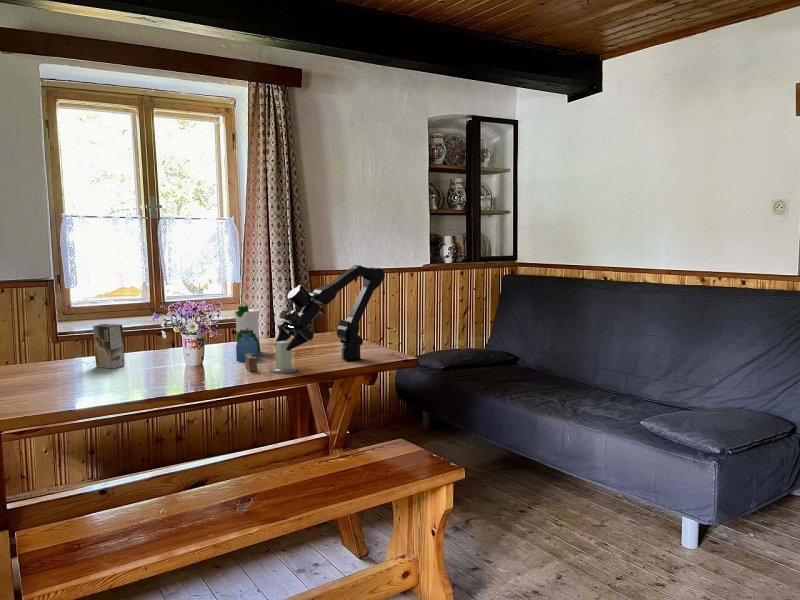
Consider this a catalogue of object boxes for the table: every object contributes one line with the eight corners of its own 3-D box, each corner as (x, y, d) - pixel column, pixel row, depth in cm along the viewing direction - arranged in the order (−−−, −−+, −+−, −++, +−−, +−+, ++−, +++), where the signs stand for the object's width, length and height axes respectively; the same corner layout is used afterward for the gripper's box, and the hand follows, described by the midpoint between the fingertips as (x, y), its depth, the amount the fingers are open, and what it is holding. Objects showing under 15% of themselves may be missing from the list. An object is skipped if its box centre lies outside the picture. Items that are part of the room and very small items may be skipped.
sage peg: (285, 366, 229) (285, 340, 228) (291, 368, 226) (290, 342, 225) (276, 368, 226) (275, 341, 225) (281, 370, 223) (280, 343, 222)
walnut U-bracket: (252, 366, 233) (252, 353, 232) (257, 371, 225) (256, 357, 224) (245, 367, 232) (245, 354, 231) (249, 371, 224) (249, 358, 223)
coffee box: (125, 365, 236) (123, 324, 234) (112, 369, 230) (109, 326, 228) (108, 363, 239) (106, 323, 238) (94, 367, 234) (92, 325, 232)
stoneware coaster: (293, 366, 233) (293, 364, 233) (300, 371, 224) (300, 370, 224) (267, 368, 229) (267, 367, 229) (273, 374, 220) (273, 372, 220)
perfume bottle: (251, 361, 242) (250, 331, 240) (236, 360, 243) (235, 331, 242) (257, 358, 248) (256, 329, 246) (243, 357, 249) (242, 328, 248)
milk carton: (233, 353, 258) (231, 306, 256) (249, 349, 265) (247, 303, 263) (248, 355, 253) (246, 307, 251) (263, 351, 261) (262, 305, 259)
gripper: (280, 299, 233) (255, 331, 228) (305, 304, 219) (278, 338, 213) (299, 318, 239) (274, 349, 234) (324, 323, 225) (299, 357, 219)
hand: (281, 348), depth 225 cm, fingers open, 9 cm apart
